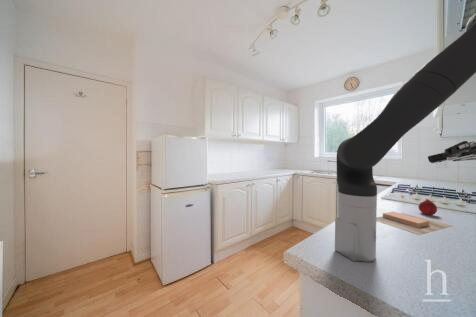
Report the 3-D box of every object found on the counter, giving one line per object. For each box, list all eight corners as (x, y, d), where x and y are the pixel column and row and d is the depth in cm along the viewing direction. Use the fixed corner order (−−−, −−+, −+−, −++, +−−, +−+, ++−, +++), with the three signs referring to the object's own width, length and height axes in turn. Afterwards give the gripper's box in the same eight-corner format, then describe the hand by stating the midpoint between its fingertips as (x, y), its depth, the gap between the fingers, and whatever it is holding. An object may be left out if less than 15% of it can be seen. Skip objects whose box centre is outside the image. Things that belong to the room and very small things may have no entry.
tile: (418, 223, 66) (382, 213, 77) (418, 227, 66) (382, 216, 78) (429, 220, 69) (393, 211, 80) (429, 225, 69) (392, 215, 80)
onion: (441, 218, 78) (441, 200, 78) (425, 218, 79) (426, 200, 79) (429, 214, 84) (429, 197, 84) (415, 213, 85) (415, 197, 85)
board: (419, 237, 60) (419, 234, 60) (369, 221, 75) (369, 218, 75) (452, 228, 68) (452, 225, 68) (402, 214, 83) (402, 212, 83)
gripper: (517, 133, 50) (431, 154, 63) (511, 118, 43) (417, 144, 57) (533, 158, 47) (439, 174, 61) (530, 145, 41) (426, 166, 54)
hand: (429, 159), depth 59 cm, fingers closed
